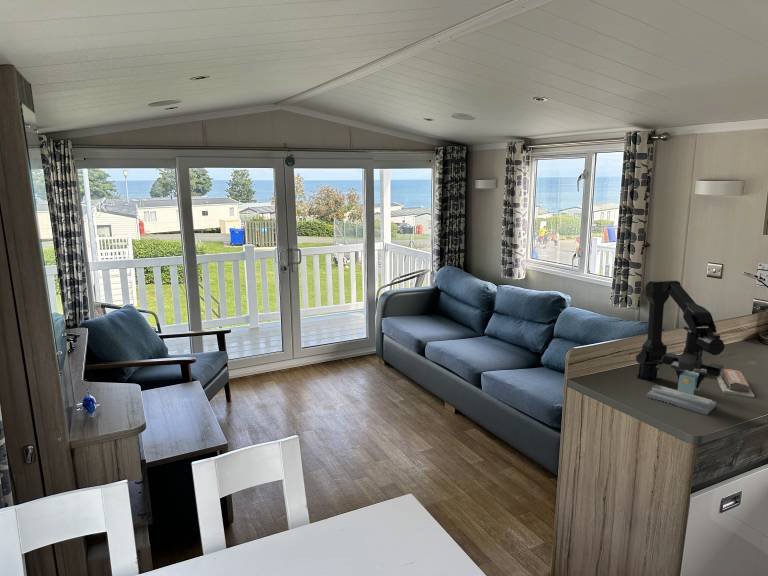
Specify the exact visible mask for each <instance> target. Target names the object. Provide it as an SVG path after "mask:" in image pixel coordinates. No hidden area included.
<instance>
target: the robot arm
mask: <svg viewBox="0 0 768 576" xmlns="http://www.w3.org/2000/svg"><path fill="white" fill-rule="evenodd" d="M645 297H646V299H647V301H648V303H649V308H648V309H649V311H648V325H647V326H648V327H647V328H648V329H647V339H646V340H645V342H644V343H643V344H642V347H641V351H640V352H639V353H637V355H636V356H635V359H636V360H635V361H636V362H637V363H638V364H639V366H638V373H637V375H636V378H638V379H639V378H640V379H643V380H647V381H650V382H655V381H656V380H657V379H659V377H660V376H659V375H660V367H659V365H661V366H662V365H663V364H665V365H667V366H669V365H670V367H671V368H673V369H674V370H675V372H676V376H677V380H678V381H679V376H680V374H682V373H683V372H684V371H686V370H688V371H690V372H692V371H694V369H696V370H697V369H698V370H701V371H699V372H698V373H699V378H698V381H697V385H696V389H698V388H699V389H700V387H699V386H701V385H702V383H703V381H704V380H705V378H706V377H710V376H712V377H720V376H721V375H722V374H723V373H724V369H725V367H724V365H723V364H719V363H714V362H711V363H710V364H707V363H706V364H705V363H704V362H703V361H704V360H703V359H704V352H707V353H708V354H710V355H713V356H718V355H720V354H721V353H722V352H723V351H724V349H725V343H724V341H723V339H721V335H720V334H718V331H717V327H716V324H715V322H714V319H713V316H712V314H711V312H710V311H709V310H708V309H706V308H705V307H703V306H702V305H699V304H698V303H696V302H695V300H694V299H693V298H692V297H691V296H690V295H689V293H687V291H686V289H684V288H683V286H682V284H681V282H680V281H679V280H675V279H674V280H654V281H653V280H650V281H648V282H647V283H646V285H645ZM670 297H671V298H672V299H673V301H674V302H675V303H676V305H677V306H678V307H679V309H681V311H682V312H683V314H682V317H683V320H684V321H685V323H686V326H684V327H683V329H684V330H685V331H686V332H687V333H686V338H685V345H684V349H683V351H682V354H681V356H680V357H679V354H676V353H672V352H667V349H668V347H667V345H666V344H665V343H664V342H663V341H662V339H663V325H664V324H663V323H664V312H665V311H664V310H665V309H664V308H665V303H666V302H667V301H668V300H669V298H670ZM702 358H703V359H702Z"/></svg>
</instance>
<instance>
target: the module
mask: <svg viewBox="0 0 768 576" xmlns="http://www.w3.org/2000/svg"><path fill="white" fill-rule="evenodd" d="M699 373H700V372H696V371H695V372H690V371H688V370H684V372H683V373H682V374H680V376H679V380H678V383H677V384H678V385H677V389H676V390H677V391H680V392H683V393H687V394H691V395H695V391H699V390H700V388H701V387H700V386H701V385H700V386H699V388H698V389H696V385H697V381H698V378H699Z"/></svg>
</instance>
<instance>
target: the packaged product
mask: <svg viewBox="0 0 768 576" xmlns="http://www.w3.org/2000/svg"><path fill="white" fill-rule="evenodd" d="M715 377H716V376H715ZM716 379H717V382H718V385H719V387H720V389H721V391H722V393H724V394H727V395H735V396H741V397H747V398H755V394H754V393H753V391H752V389H751V386H750V384H749V383H748V382H747V379H746V378H745V376H744V374H743V373H742V372H741V371H739V370H735V369H731V368H728V369H727V368H724V373H723V374H722V375H721V376H720V377H716Z"/></svg>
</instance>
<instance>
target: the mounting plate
mask: <svg viewBox="0 0 768 576" xmlns="http://www.w3.org/2000/svg"><path fill="white" fill-rule="evenodd" d="M646 397H647V398H648V397H649V399H652V398H653V400H655V399H657V400H656V401H658V400H661V401H660V402H662V401H664V402H663V403H665V402H667V403H666V404H669V403H671V404H670V405H672V404H674V405H673V406H675V405H676V406H675V407H679V408H683V409H685V410H686V409H687V410H690V411H693V412H696V413H700V414H703V415H709V413H711V412H712V411H713V409H715V408H716V405H717V401H714V400H713V401H712V405H711V406H710V407H706V406H702V405H699V404H695V403H692V402H688V401H685V400H681V399H678V398H674V397H671V396H667V395H664V394H660V393H657V392H653V391H652V389H650V391H648V392H646Z"/></svg>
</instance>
